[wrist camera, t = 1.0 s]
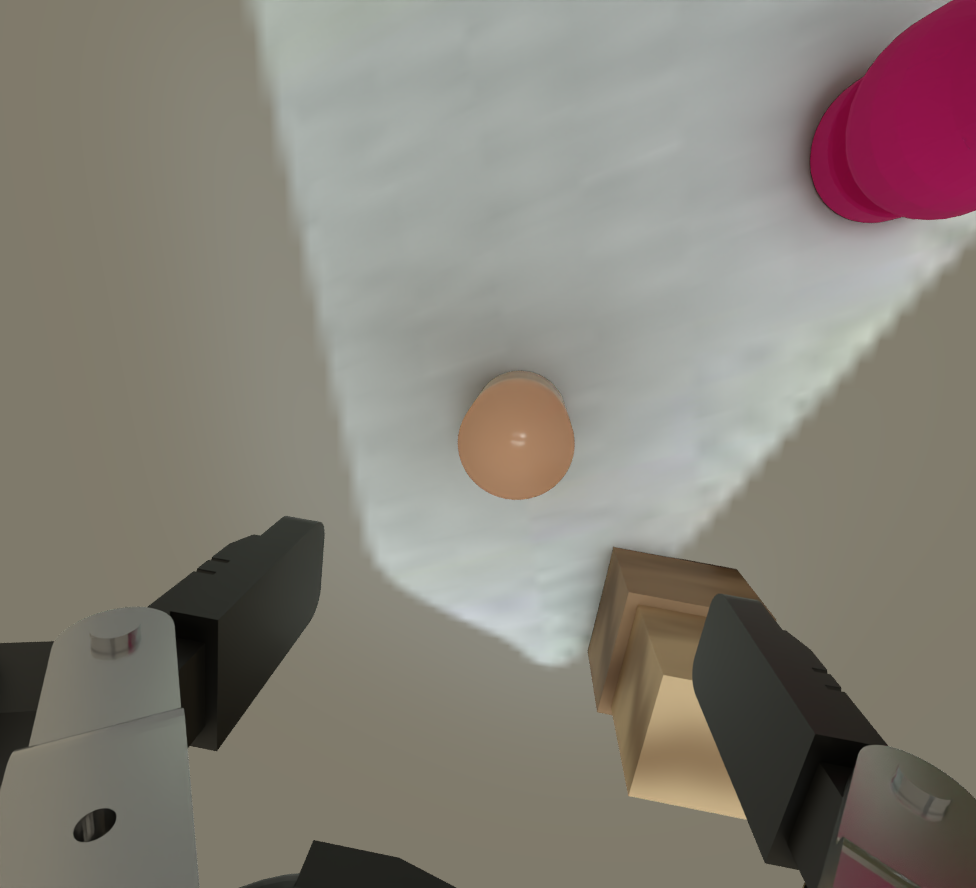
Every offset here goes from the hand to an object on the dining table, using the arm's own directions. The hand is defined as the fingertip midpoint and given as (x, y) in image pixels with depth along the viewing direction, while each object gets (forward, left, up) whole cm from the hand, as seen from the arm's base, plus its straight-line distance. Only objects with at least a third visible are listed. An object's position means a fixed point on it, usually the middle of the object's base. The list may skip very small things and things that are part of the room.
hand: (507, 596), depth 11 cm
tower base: (+10, +10, -18) cm, 23 cm away
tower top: (+10, +10, -13) cm, 19 cm away
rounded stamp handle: (0, 0, -18) cm, 18 cm away
